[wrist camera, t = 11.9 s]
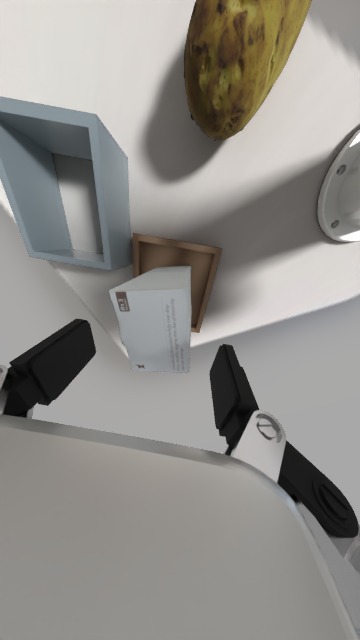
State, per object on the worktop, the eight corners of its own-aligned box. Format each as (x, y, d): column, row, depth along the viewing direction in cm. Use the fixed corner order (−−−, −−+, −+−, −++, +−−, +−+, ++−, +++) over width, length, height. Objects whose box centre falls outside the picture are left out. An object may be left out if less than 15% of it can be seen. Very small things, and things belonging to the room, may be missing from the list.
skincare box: (192, 309, 25) (193, 377, 13) (160, 310, 26) (131, 376, 13) (191, 261, 21) (192, 289, 8) (153, 264, 22) (101, 292, 9)
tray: (218, 248, 21) (222, 248, 19) (198, 326, 28) (199, 332, 26) (138, 234, 21) (132, 233, 19) (139, 316, 28) (134, 322, 26)
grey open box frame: (127, 157, 17) (96, 114, 11) (130, 264, 23) (111, 270, 17) (42, 142, 17) (-33, 90, 11) (69, 253, 23) (29, 256, 17)
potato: (321, 61, 13) (473, -150, 6) (206, 178, 17) (217, 135, 10) (293, -93, 10) (527, -853, 3) (164, 96, 15) (140, -41, 8)
